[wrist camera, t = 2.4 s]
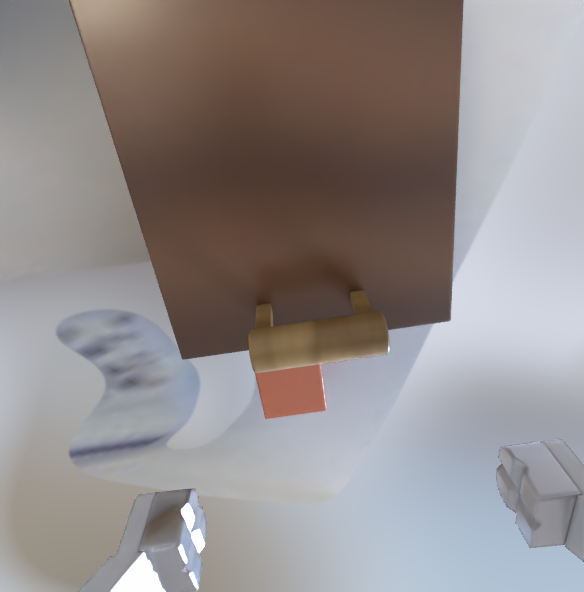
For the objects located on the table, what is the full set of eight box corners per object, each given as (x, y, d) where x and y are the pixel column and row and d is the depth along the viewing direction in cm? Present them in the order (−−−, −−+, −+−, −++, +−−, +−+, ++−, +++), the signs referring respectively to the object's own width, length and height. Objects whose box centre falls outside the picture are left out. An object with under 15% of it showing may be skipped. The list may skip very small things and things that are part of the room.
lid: (445, 313, 22) (491, 374, 17) (184, 351, 22) (163, 420, 18) (458, -105, 14) (546, -190, 10) (63, -40, 15) (-29, -95, 10)
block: (265, 380, 34) (265, 419, 30) (256, 334, 32) (254, 369, 28) (320, 372, 34) (326, 410, 30) (313, 325, 32) (320, 360, 28)
